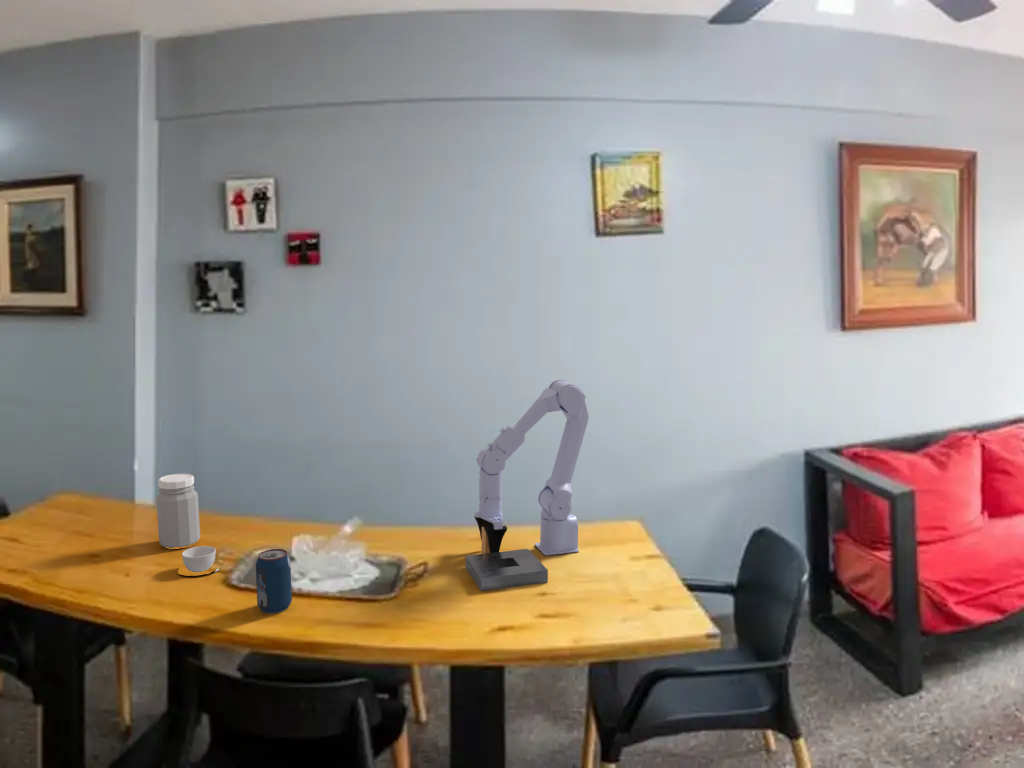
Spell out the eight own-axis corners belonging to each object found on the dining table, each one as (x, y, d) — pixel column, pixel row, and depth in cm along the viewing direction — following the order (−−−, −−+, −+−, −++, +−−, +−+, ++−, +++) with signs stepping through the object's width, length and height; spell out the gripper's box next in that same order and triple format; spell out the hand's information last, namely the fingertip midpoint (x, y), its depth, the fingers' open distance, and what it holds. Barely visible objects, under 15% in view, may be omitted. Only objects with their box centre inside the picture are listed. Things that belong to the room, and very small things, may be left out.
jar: (159, 540, 188) (155, 474, 185) (200, 535, 192) (196, 471, 189) (158, 553, 179) (154, 484, 177) (200, 547, 183) (197, 480, 181)
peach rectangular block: (495, 551, 182) (495, 525, 181) (499, 556, 179) (499, 530, 178) (481, 553, 181) (481, 527, 180) (485, 558, 177) (485, 531, 176)
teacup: (205, 580, 163) (204, 561, 163) (167, 576, 165) (166, 557, 165) (230, 564, 173) (230, 545, 173) (194, 560, 175) (193, 542, 174)
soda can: (295, 600, 153) (293, 547, 151) (286, 615, 146) (284, 560, 145) (263, 600, 153) (261, 547, 151) (253, 615, 146) (250, 560, 144)
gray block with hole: (527, 560, 176) (527, 548, 176) (547, 582, 163) (547, 570, 163) (465, 567, 172) (465, 555, 171) (481, 591, 158) (481, 578, 158)
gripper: (467, 489, 183) (467, 539, 185) (483, 505, 169) (482, 559, 171) (493, 486, 185) (493, 536, 187) (510, 503, 172) (510, 556, 173)
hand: (490, 547), depth 179 cm, fingers open, 7 cm apart
